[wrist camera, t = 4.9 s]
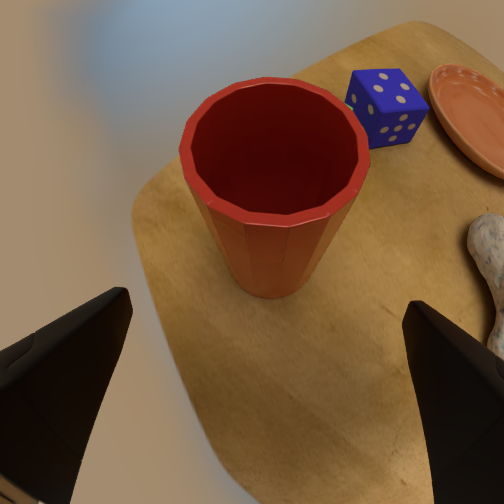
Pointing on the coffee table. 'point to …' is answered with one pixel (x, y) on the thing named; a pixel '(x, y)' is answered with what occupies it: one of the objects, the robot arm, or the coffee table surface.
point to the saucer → (470, 114)
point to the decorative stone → (491, 268)
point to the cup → (273, 177)
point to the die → (386, 105)
